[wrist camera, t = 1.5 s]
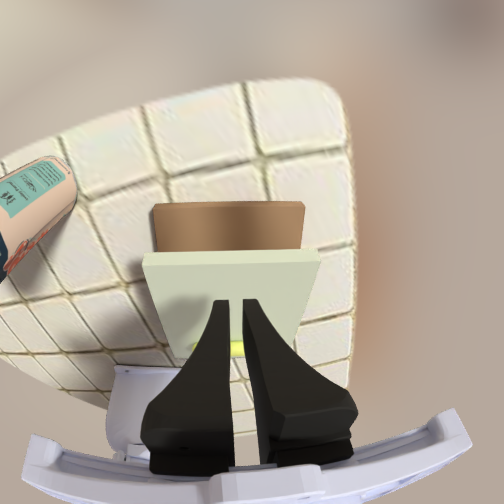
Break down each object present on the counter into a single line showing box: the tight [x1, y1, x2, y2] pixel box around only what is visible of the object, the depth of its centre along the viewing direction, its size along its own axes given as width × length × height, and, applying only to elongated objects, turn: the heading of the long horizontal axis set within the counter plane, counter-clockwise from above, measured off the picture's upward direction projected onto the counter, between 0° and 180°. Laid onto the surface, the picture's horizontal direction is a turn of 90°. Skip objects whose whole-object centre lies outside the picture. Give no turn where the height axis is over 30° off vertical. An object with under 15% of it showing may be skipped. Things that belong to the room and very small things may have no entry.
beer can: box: [0, 156, 77, 284], centre depth 12 cm, size 5×5×12 cm
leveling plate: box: [142, 249, 321, 359], centre depth 20 cm, size 10×12×2 cm
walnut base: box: [153, 201, 305, 252], centre depth 22 cm, size 10×14×1 cm
